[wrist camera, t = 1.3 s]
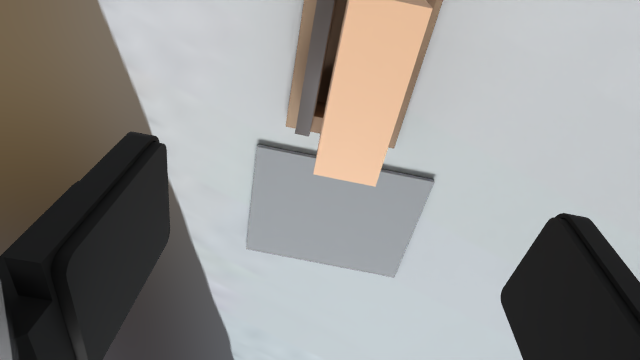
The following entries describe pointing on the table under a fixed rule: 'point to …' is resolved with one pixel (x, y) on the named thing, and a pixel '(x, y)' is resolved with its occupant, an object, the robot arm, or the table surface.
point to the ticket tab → (369, 86)
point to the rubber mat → (332, 214)
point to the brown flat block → (331, 64)
